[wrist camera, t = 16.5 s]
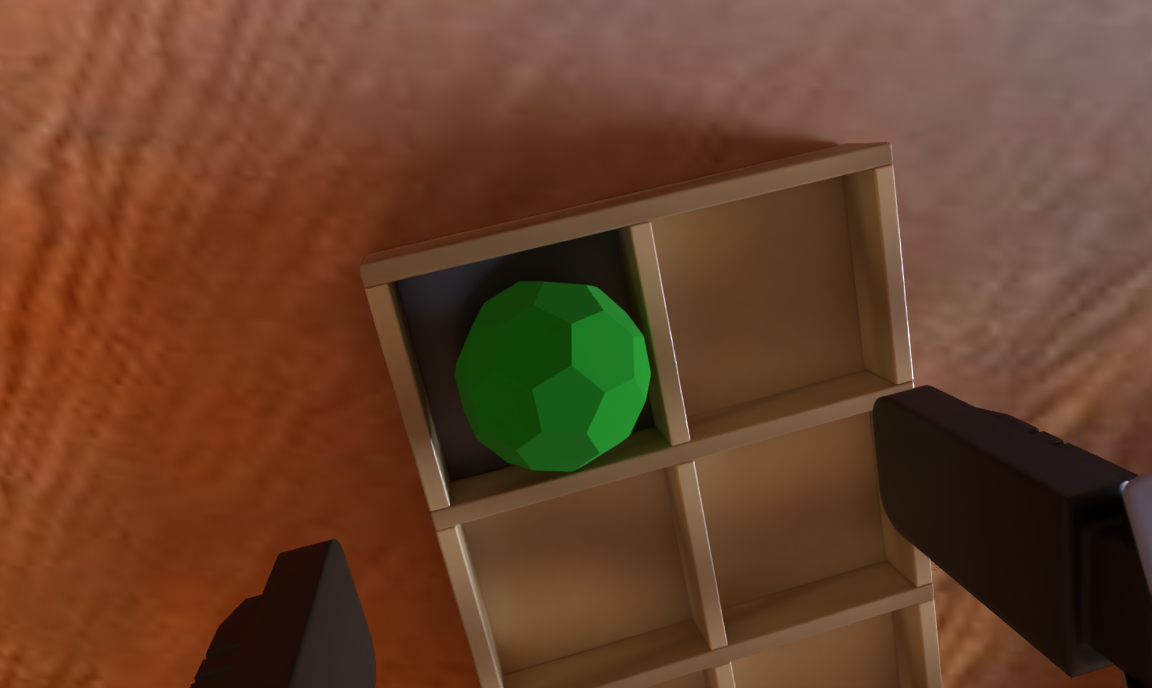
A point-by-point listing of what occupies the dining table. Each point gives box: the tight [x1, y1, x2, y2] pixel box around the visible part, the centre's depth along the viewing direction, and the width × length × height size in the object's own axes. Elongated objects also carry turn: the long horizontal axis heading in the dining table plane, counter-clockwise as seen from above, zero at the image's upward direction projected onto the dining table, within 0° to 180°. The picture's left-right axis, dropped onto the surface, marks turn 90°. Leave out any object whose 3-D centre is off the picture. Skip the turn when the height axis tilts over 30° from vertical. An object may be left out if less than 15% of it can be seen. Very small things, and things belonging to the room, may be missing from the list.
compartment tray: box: [359, 142, 942, 688], centre depth 24 cm, size 22×15×2 cm
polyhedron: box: [454, 281, 651, 472], centre depth 20 cm, size 5×5×5 cm
